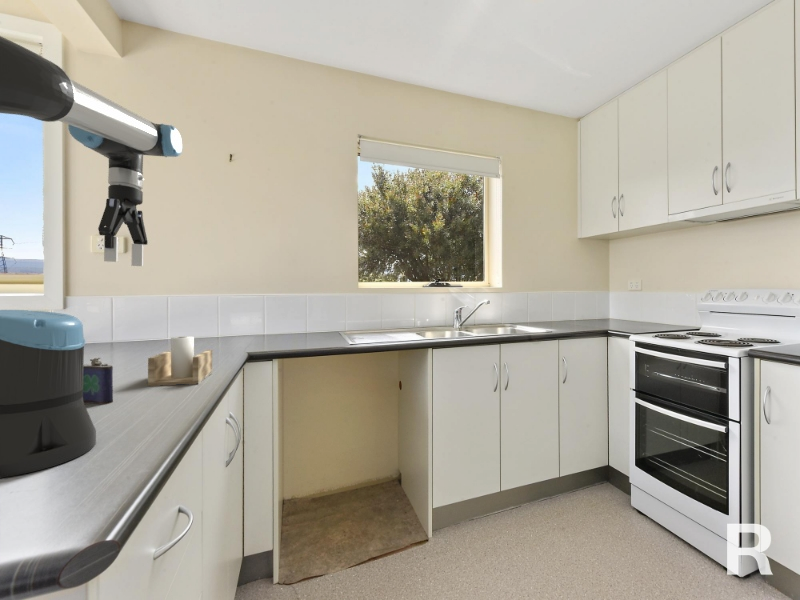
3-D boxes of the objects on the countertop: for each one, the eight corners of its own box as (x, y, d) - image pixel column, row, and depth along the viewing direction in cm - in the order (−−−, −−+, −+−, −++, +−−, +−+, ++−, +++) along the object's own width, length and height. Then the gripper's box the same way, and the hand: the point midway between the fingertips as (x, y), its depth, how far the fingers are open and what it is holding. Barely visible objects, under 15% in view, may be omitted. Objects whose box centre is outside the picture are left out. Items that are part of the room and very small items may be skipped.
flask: (72, 402, 83) (72, 358, 83) (84, 399, 86) (85, 356, 86) (105, 404, 82) (106, 359, 82) (117, 401, 85) (118, 357, 85)
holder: (198, 384, 102) (198, 357, 102) (147, 386, 99) (148, 358, 99) (212, 373, 116) (212, 349, 116) (168, 375, 113) (168, 350, 112)
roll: (190, 377, 105) (190, 337, 105) (167, 378, 104) (167, 338, 104) (196, 373, 111) (196, 335, 111) (175, 374, 109) (175, 336, 109)
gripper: (116, 173, 85) (115, 259, 85) (160, 200, 109) (159, 267, 109) (80, 170, 83) (79, 258, 83) (133, 198, 107) (132, 267, 108)
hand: (125, 264), depth 96 cm, fingers open, 13 cm apart
